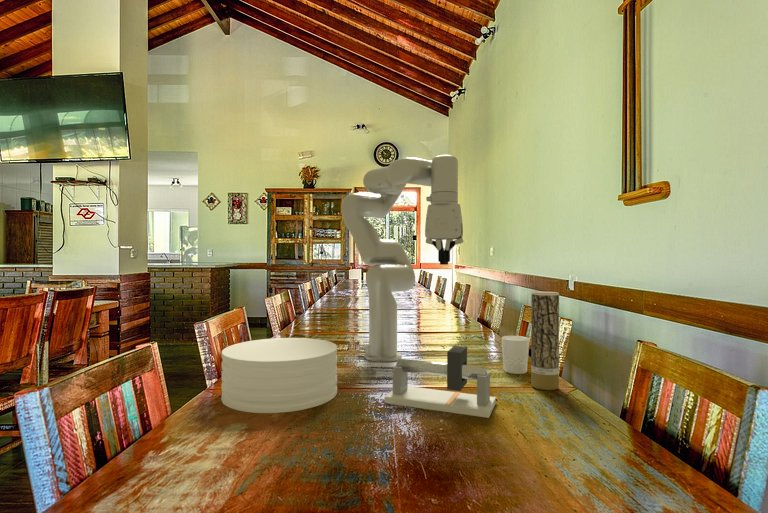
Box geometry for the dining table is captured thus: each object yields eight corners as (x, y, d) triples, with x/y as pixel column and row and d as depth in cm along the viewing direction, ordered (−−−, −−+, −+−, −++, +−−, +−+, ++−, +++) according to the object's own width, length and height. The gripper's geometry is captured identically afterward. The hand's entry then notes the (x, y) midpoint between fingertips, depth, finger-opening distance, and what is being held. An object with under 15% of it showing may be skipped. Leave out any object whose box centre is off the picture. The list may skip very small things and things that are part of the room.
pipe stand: (384, 403, 103) (384, 368, 103) (399, 391, 112) (399, 359, 112) (488, 417, 94) (488, 380, 94) (495, 403, 103) (495, 369, 103)
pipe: (396, 372, 106) (396, 359, 106) (400, 369, 109) (400, 357, 109) (484, 382, 98) (484, 368, 98) (486, 378, 100) (486, 365, 100)
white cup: (532, 374, 128) (532, 340, 128) (505, 374, 128) (505, 340, 128) (524, 368, 136) (524, 335, 136) (498, 367, 136) (498, 335, 136)
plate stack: (195, 401, 105) (195, 352, 105) (276, 373, 129) (276, 334, 129) (287, 422, 92) (287, 367, 92) (357, 387, 116) (358, 343, 116)
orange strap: (444, 404, 98) (444, 367, 98) (455, 392, 107) (455, 358, 107) (450, 405, 97) (450, 368, 97) (460, 392, 106) (460, 358, 106)
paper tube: (561, 392, 112) (561, 293, 112) (533, 390, 113) (533, 293, 113) (556, 384, 119) (556, 291, 119) (529, 383, 120) (530, 291, 120)
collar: (447, 389, 99) (447, 351, 99) (454, 381, 105) (454, 345, 105) (460, 391, 98) (460, 352, 98) (466, 382, 104) (467, 346, 104)
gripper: (415, 199, 125) (414, 264, 125) (467, 197, 119) (467, 265, 119) (423, 202, 132) (422, 264, 132) (473, 200, 126) (473, 264, 126)
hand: (444, 264), depth 125 cm, fingers closed
